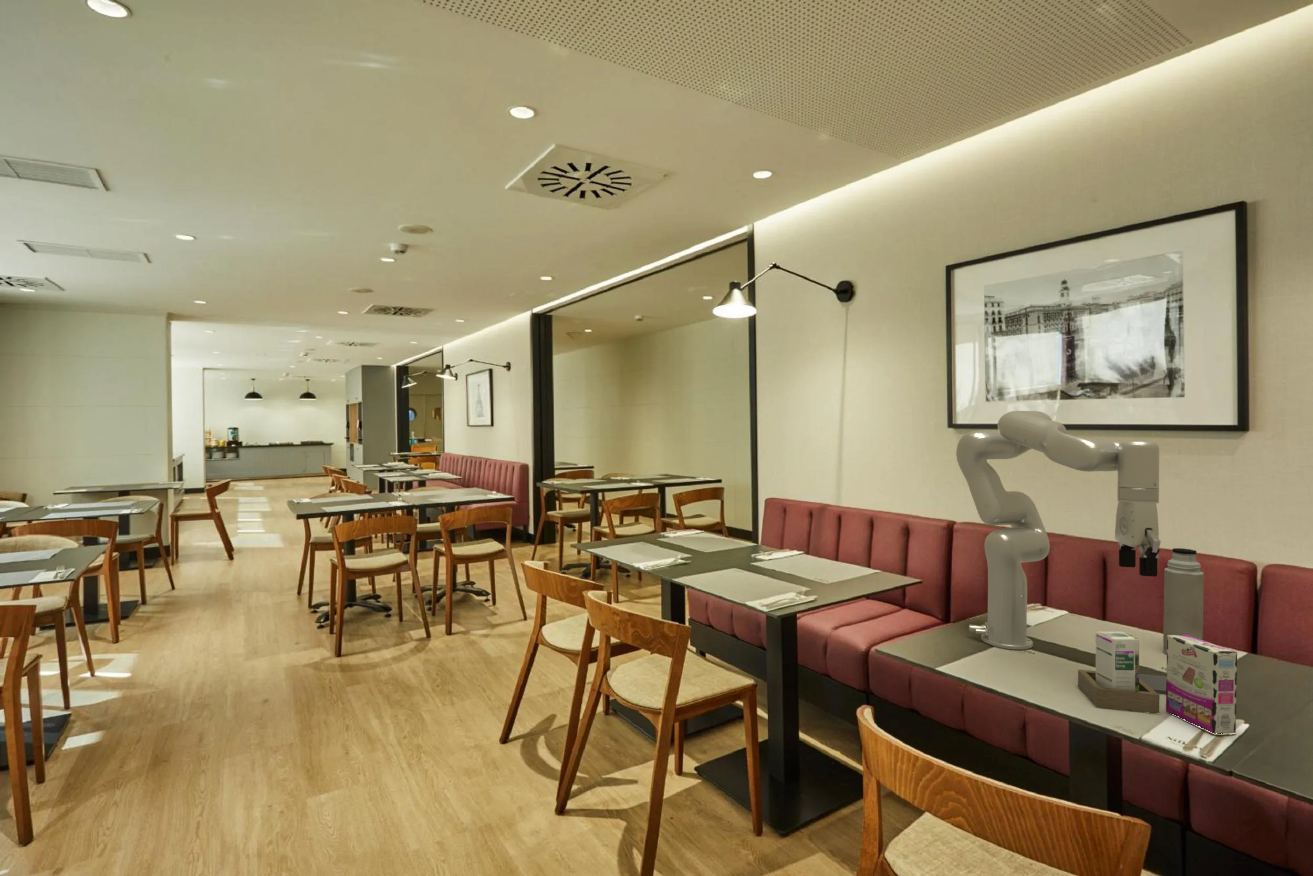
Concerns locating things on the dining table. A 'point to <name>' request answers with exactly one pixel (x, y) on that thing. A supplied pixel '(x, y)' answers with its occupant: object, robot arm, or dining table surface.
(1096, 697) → the collar
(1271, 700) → the dining table surface
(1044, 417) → the robot arm
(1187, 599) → the thermos bottle
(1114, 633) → the syrup box
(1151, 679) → the mat
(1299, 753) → the dining table surface
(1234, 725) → the candy bar box
